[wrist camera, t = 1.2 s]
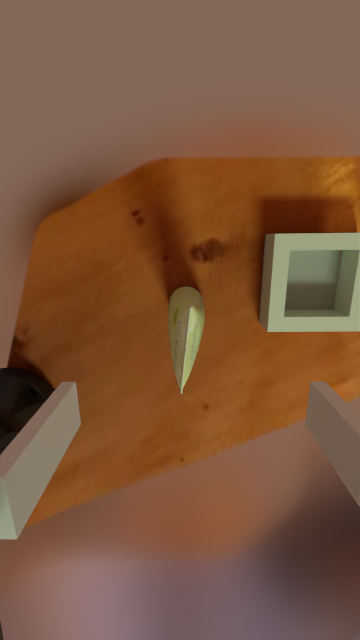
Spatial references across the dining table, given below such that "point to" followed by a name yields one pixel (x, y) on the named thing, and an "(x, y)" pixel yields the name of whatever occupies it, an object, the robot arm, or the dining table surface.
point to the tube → (185, 330)
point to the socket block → (310, 282)
